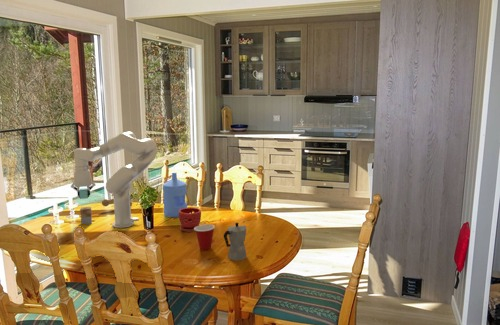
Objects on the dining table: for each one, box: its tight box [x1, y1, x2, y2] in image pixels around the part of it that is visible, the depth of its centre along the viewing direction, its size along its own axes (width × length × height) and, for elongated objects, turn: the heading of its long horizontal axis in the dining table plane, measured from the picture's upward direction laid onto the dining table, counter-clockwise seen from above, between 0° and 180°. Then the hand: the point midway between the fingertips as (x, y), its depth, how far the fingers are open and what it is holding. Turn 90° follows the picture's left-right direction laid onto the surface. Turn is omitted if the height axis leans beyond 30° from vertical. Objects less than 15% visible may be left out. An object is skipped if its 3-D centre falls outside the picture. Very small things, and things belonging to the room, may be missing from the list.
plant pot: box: [178, 207, 202, 233], centre depth 246 cm, size 13×13×12 cm
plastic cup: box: [194, 224, 216, 251], centre depth 217 cm, size 11×11×12 cm
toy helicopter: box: [101, 194, 133, 208], centre depth 289 cm, size 8×21×14 cm, turn 132°
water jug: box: [162, 172, 188, 218], centre depth 274 cm, size 16×16×28 cm
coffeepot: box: [223, 222, 247, 262], centre depth 204 cm, size 15×9×18 cm, turn 137°
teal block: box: [79, 187, 89, 200], centre depth 256 cm, size 4×6×5 cm
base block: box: [80, 215, 93, 225], centre depth 259 cm, size 6×4×5 cm
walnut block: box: [79, 206, 93, 218], centre depth 258 cm, size 6×4×5 cm
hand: (84, 196), depth 257 cm, fingers closed on teal block, 4 cm apart
